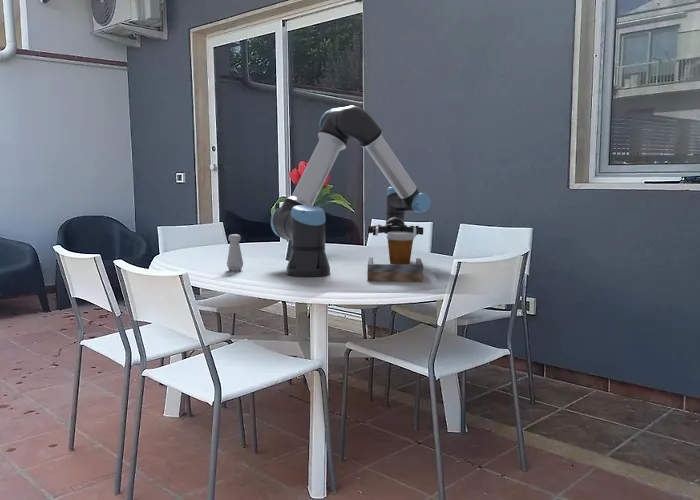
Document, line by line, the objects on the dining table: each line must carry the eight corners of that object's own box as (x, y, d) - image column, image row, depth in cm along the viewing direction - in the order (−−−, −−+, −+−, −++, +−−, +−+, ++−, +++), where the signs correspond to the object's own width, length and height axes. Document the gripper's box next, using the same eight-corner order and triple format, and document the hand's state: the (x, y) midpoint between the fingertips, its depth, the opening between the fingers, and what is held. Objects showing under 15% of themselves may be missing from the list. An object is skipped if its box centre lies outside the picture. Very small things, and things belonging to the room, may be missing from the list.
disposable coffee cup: (412, 270, 198) (413, 234, 197) (384, 269, 200) (384, 233, 198) (414, 266, 208) (415, 232, 206) (387, 265, 209) (388, 231, 208)
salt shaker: (246, 269, 217) (246, 234, 215) (237, 272, 212) (236, 235, 210) (233, 268, 219) (232, 233, 218) (223, 271, 214) (222, 234, 212)
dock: (367, 281, 196) (367, 264, 195) (368, 273, 212) (368, 257, 211) (422, 282, 195) (423, 265, 194) (420, 273, 211) (420, 258, 210)
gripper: (427, 237, 234) (430, 243, 213) (363, 236, 235) (360, 241, 214) (427, 218, 233) (431, 222, 212) (363, 217, 235) (361, 220, 213)
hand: (395, 232), depth 213 cm, fingers open, 13 cm apart
